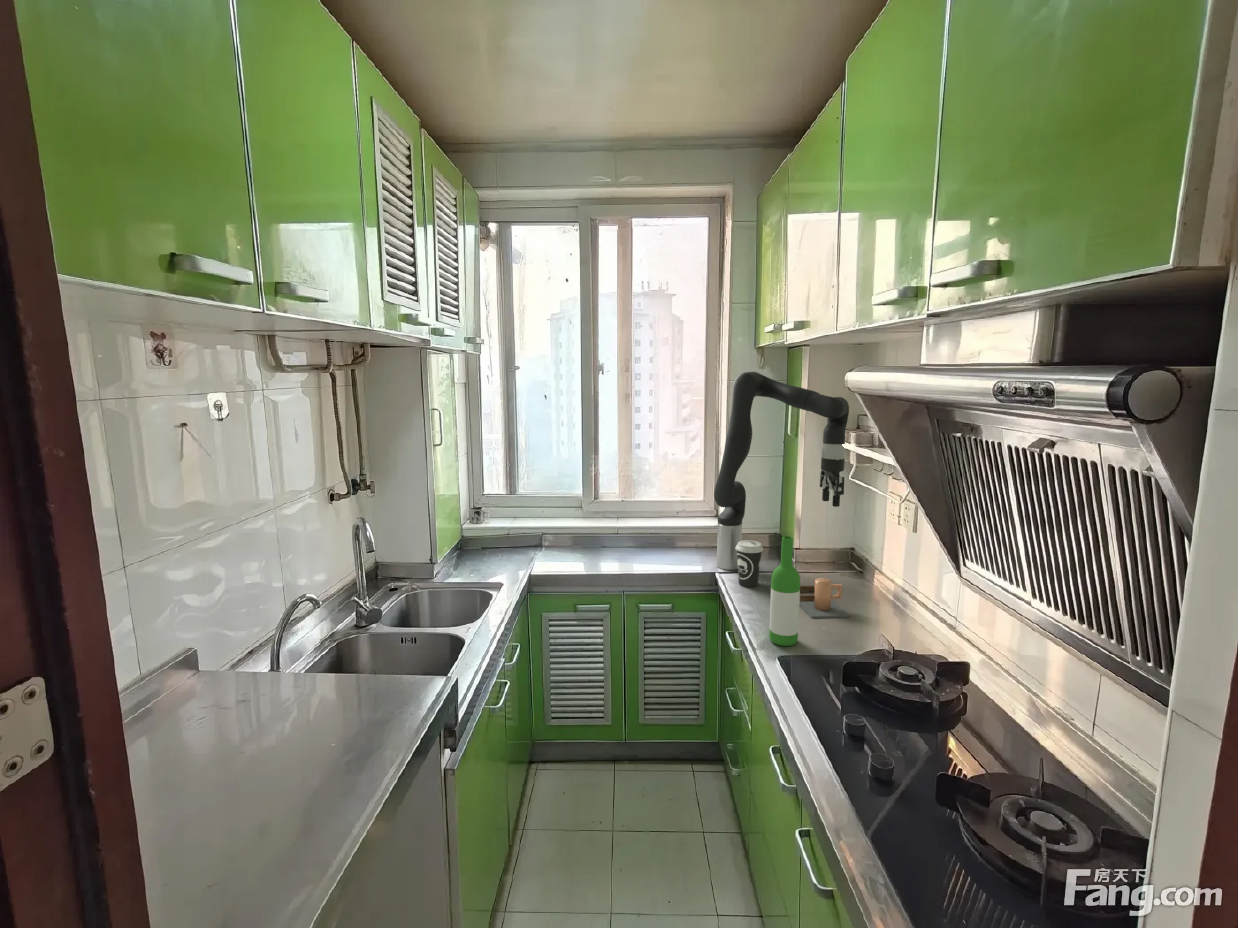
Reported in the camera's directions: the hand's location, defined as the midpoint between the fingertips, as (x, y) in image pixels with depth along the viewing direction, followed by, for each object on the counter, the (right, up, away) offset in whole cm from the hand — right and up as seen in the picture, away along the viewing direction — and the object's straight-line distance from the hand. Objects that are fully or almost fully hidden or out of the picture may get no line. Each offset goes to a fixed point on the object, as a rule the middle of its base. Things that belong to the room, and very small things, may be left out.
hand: (830, 503), depth 207 cm
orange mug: (-6, -32, -15) cm, 36 cm away
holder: (-8, -31, -3) cm, 32 cm away
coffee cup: (-26, -29, +9) cm, 40 cm away
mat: (-8, -33, -15) cm, 37 cm away
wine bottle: (-26, -36, -37) cm, 58 cm away
